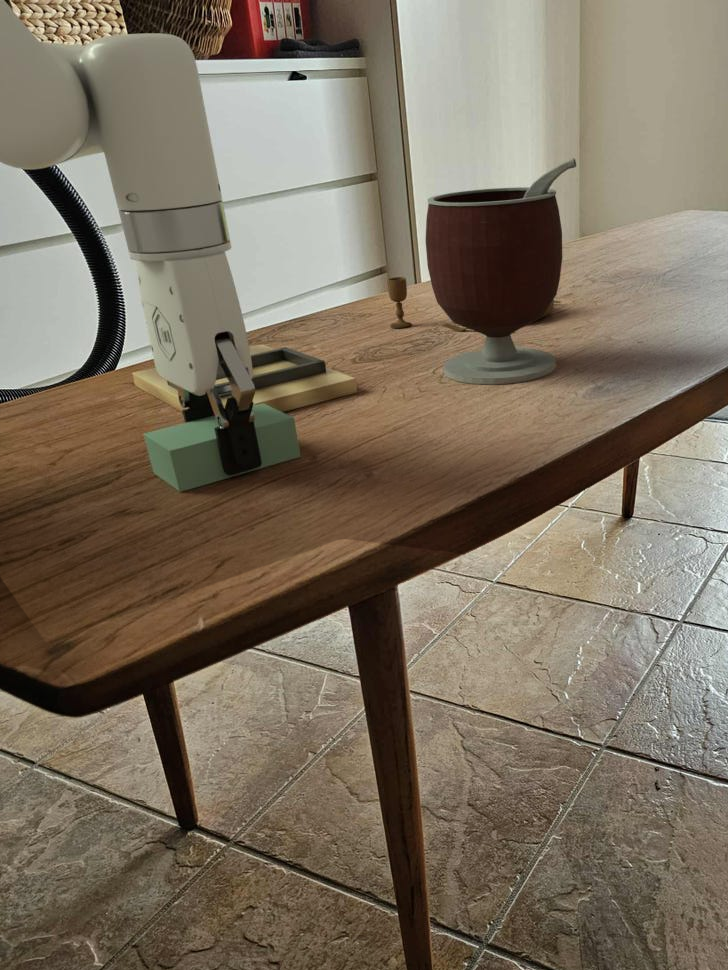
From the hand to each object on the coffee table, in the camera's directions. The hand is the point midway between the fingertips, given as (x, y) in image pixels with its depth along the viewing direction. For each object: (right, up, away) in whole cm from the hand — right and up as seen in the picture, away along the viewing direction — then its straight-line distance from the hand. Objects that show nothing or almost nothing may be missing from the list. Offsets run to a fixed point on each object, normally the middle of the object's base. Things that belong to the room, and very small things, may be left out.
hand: (226, 458), depth 77 cm
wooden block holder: (-4, +12, +20) cm, 24 cm away
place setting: (+22, +28, +44) cm, 56 cm away
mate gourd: (+25, +14, +21) cm, 35 cm away
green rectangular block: (0, -1, 0) cm, 1 cm away
